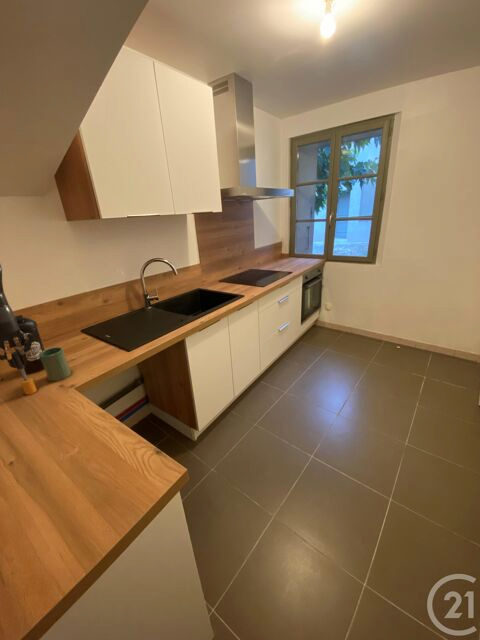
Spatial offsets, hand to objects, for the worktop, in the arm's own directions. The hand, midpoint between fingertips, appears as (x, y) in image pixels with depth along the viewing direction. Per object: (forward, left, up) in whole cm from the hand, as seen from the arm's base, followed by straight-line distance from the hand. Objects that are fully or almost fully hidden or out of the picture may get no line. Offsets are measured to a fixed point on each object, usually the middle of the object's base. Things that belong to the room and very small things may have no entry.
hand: (19, 365), depth 91 cm
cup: (+7, +8, -11) cm, 15 cm away
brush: (0, 0, -11) cm, 11 cm away
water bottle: (-5, +20, -11) cm, 23 cm away
